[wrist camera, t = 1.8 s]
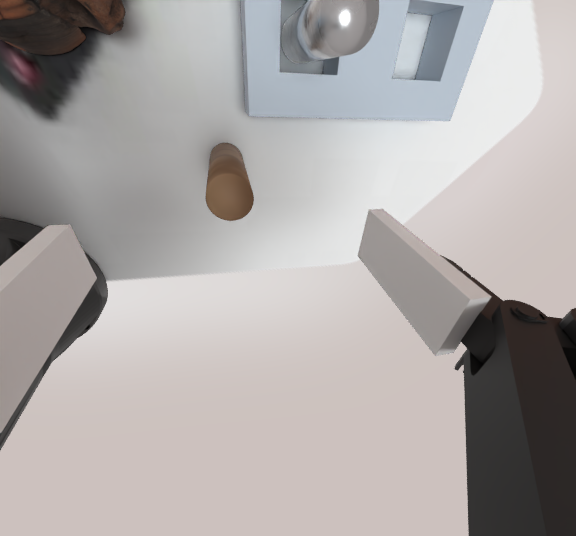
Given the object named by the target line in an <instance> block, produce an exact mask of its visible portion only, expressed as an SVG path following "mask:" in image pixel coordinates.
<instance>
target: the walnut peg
mask: <svg viewBox="0 0 576 536" xmlns="http://www.w3.org/2000/svg"><path fill="white" fill-rule="evenodd" d="M253 201H254V197H253V192H252V189H251V185H250V182H249V179H248V175H247V172H246V168H245V165H244V162H243V158H242V155H241V153H240V151H239V150H238V148H236V147H235V146H234V145H232V144H229V143H221V144H218V145H216V146H215V147H214V148H213V150H212V151H211V154H210V162H209V171H208V180H207V188H206V203H207V206H208V208H209V209H210V211H211V212H212V213H213V214H214V215H215V216H217V217H219V218H221V219H223V220H229V221H233V220H238V219H241V218H243V217H244V216H246V215H247V214H248V213H249V212H250V210H251V208H252V206H253Z"/></svg>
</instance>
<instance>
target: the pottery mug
mask: <svg viewBox="0 0 576 536" xmlns="http://www.w3.org/2000/svg"><path fill="white" fill-rule="evenodd" d="M124 16H125V8H124V6H123V4H122V0H38V1H35V0H0V39H1V40H3V41H5V42H6V43H8V44H10V45H12V46H14V47H16V48H19V49H21V50H24V51H27V52H30V53H34V54H41V55H55V54H63V53H66V52H69V51H71V50H72V49H73V48H75V47H77V46H78V45H80V44H81V43H82V42H83V41H84V40H85V39H86V36H85V35H84V33H83V32H82V31H81V30H80V28H79V27H91V28H95V29H97V30H99V31H101V32H103V33H105V34H108V35H111V34H113V33H115V32H116V31H119V30H121V29H122V27H123V24H124V22H123V19H124ZM78 26H79V27H78Z"/></svg>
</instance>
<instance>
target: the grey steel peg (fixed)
mask: <svg viewBox="0 0 576 536" xmlns="http://www.w3.org/2000/svg"><path fill="white" fill-rule="evenodd" d="M378 17H379V0H308V1H307V2H306V3H305V4H304V5H303V6H302V7H300V8H299V9H298V10H297V11H296V12H295V13H294V14H292V15H291V16H290V17H289V18H288V19H287V20H286V22H285V23H284V25H283V28H282V32H281V45H282V49H283V52H284V54H285V55H286V57H287V58H288V59H289V60H290V61H292V62H293V63H297V64H301V63H307V62H312V61H318V60H324V59H329V58H335V57H340V56H346V55H351V54H354V53H356V52H358V51H360V50H361V49H362V48H363V47H364V46H366V44H367V43H368V42H369V40H370V39H371V37H372V35H373V33H374V31H375V29H376V25H377V22H378Z"/></svg>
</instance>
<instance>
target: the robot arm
mask: <svg viewBox="0 0 576 536" xmlns="http://www.w3.org/2000/svg"><path fill="white" fill-rule="evenodd" d="M358 257H359V258H360V259H361V261H362V262H363V263H364V265H365V266H366V267H367V268H368V270H369V271H370V272H371V273H372V275H373V276H374V277H375V279H376V280H377V281H378V283H379V284H380V285H381V286H382V288H383V289H384V290H385V291H386V293H387V294H388V296H389V297H390V298H391V299H392V301H393V302H394V303H395V305H396V306H397V307H398V308H399V310H400V311H401V312H402V313H403V315H404V316H405V318H406V319H407V320H408V321H409V323H410V324H411V325H412V327H413V328H414V329H415V330H416V332H417V333H418V334H419V335H420V337H421V338H422V340H423V341H424V342H425V343H426V345H427V346H428V347H429V349H430V350H431V351H432V352H433V354H434V355H435V356H438V355H443V354H449V353H454V351H455V350H456V348H457V347H458V345H459V344H460V342H462V343H463V344H464V345H465V346H466V347H467V350H466V351H465V353H464V354H463V355H462V357H461V358H460V360H459V361H458V362H457V364H456V366H455V369H456V370H458V369H459V368H460V367H461V365H464V371H463V373H464V387H465V422H466V454H467V456H466V457H467V489H468V490H467V491H468V524H469V536H576V308H574V309H572V310H571V311H570V312H569V313H568V314H567V315H566V316H565V317H564V318H563V319H561V318H553V317H547V316H546V315H545V314H543V313H542V312H541V311H540V310H537V309H536V308H534V307H533V306H531V305H528V304H525V303H523V302H520V301H515V300H505V301H503V300H501V299H500V298H499V297H497V296H496V295H495V294H494V293H492V292H491V291H490V290H489V289H487V288H486V287H485V286H484V285H482V284H481V283H480V282H478V281H477V280H476V279H475V278H473V277H471V275H469V274H468V273H467V272H466V271H463V269H462V268H461V267H459V266H458V265H457V264H456V263H454V262H453V261H451V260H449V259H447V258H445V257H443V256H441V255H439V254H438V253H437V252H435V251H434V250H433V249H432V248H430V247H429V246H428V245H427V244H425V243H424V242H423V241H422V240H420V239H419V238H418V237H417V236H415V235H414V234H413V233H412V232H410V231H409V230H408V229H407V228H405V227H404V226H403V225H402V224H401V223H399V222H398V221H397V220H396V219H394V218H393V217H392V216H391V215H389V214H388V213H387V212H386V211H384V210H383V209H374V210H369V211H368V215H367V219H366V224H365V228H364V232H363V236H362V240H361V244H360V248H359V253H358ZM107 297H108V290H107V284H106V281H105V278H104V276H103V274H102V272H101V271H100V269H99V268H98V266H97V265H96V264H95V263H94V261H93V260H92V259H91V258H90V257H89V256H88V255H87V254H85V253H84V251H83V249H82V247H81V245H80V243H79V241H78V239H77V237H76V235H75V233H74V231H73V229H72V227H71V225H70V224H66V225H48V226H47V227H46V228H44V229H43V228H40V227H37V226H34V225H31V224H28V223H24V222H20V221H16V220H11V219H6V218H0V450H1V448H2V447H3V445H4V443H5V441H6V440H7V438H8V436H9V435H10V433H11V431H12V429H13V428H14V426H15V424H16V423H17V421H18V419H19V417H20V416H21V414H22V412H23V411H24V409H25V407H26V405H27V403H28V402H29V400H30V399H31V397H32V395H33V393H34V392H35V390H36V388H37V387H38V385H39V383H40V381H41V379H42V377H43V376H44V374H45V373H46V371H47V369H48V368H49V366H50V364H51V363H52V362H53V361H54V360H55V359H56V358H57V357H58V356H59V355H61V354H62V353H63V352H64V351H65V350H66V349H67V348H68V347H69V346H70V345H71V344H72V343H73V342H74V341H75V340H76V339H77V338H78V337H80V336H82V335H83V334H84V333H86V332H87V331H88V330H89V329H90V328H91V327H92V326H93V325H94V324H95V322H96V321H97V320H98V318H99V316H100V314H101V312H102V310H103V308H104V306H105V304H106V301H107Z"/></svg>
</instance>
